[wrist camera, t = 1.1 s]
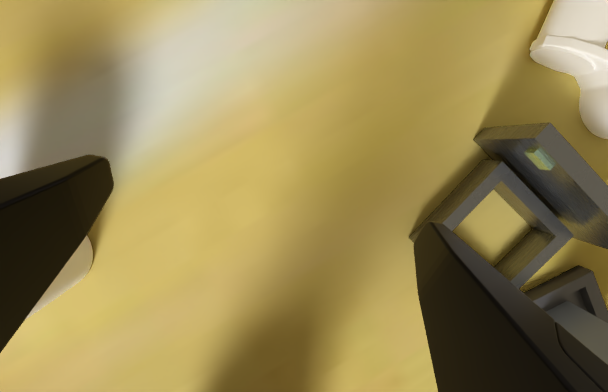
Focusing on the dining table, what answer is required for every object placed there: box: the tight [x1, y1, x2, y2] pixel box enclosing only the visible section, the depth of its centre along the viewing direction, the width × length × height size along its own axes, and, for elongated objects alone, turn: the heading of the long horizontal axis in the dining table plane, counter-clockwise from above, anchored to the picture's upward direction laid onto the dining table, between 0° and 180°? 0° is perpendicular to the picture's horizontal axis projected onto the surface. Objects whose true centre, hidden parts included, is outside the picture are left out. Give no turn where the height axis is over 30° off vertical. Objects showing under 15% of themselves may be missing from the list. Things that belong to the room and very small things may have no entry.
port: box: [409, 123, 608, 289], centre depth 22 cm, size 10×12×6 cm
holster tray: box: [524, 265, 608, 323], centre depth 26 cm, size 9×9×1 cm
